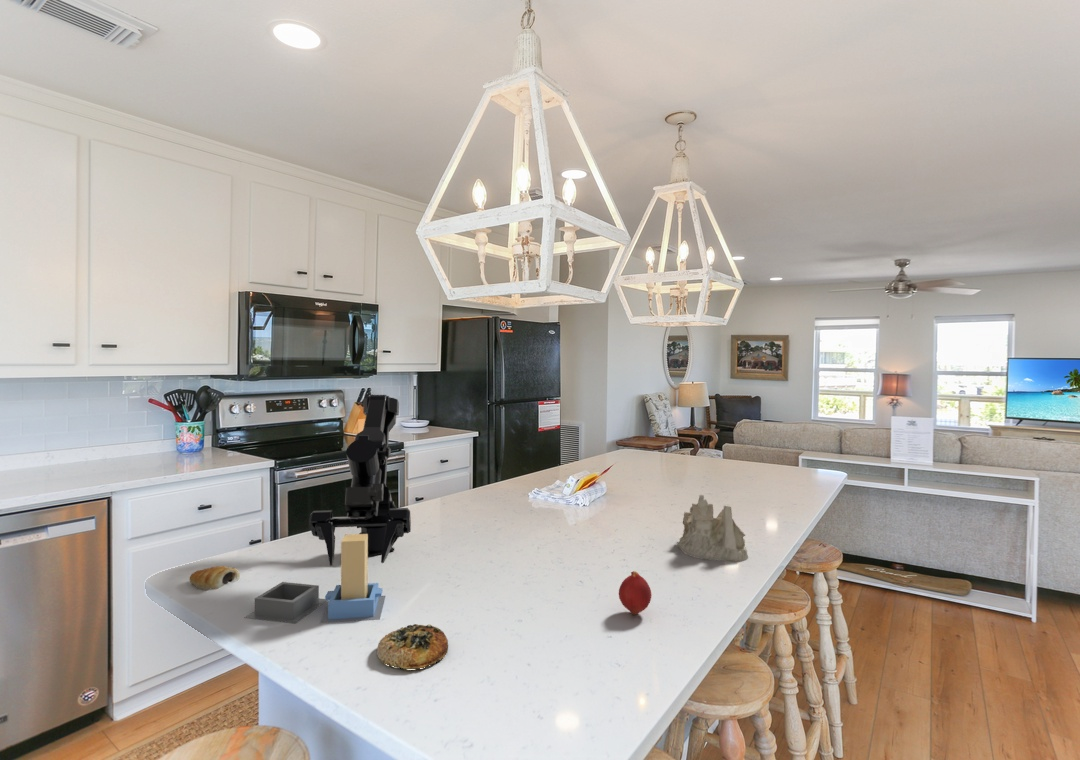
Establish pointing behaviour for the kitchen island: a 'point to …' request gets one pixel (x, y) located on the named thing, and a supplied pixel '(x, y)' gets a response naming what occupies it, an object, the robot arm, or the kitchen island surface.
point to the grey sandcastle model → (712, 534)
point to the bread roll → (413, 647)
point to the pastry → (214, 577)
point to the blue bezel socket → (354, 606)
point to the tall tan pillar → (354, 566)
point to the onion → (635, 593)
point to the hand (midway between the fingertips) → (356, 563)
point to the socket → (287, 603)
